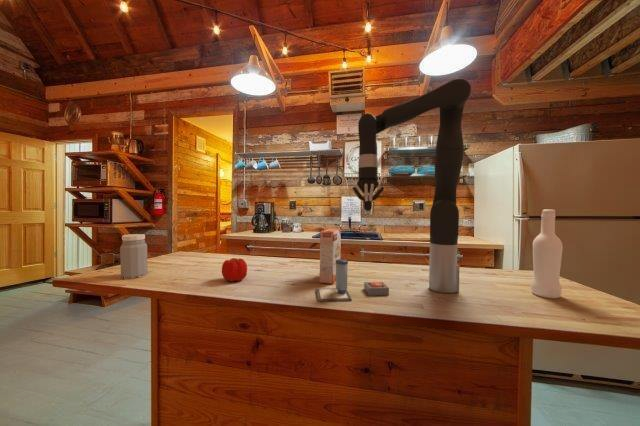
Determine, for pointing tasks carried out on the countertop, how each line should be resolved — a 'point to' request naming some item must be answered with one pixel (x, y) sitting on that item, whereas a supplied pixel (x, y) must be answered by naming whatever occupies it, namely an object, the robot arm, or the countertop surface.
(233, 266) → the tomato
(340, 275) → the grey-blue cylinder
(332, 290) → the board
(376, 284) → the button
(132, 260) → the jar
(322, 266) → the cracker box
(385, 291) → the button collar
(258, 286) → the countertop surface
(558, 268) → the bottle
